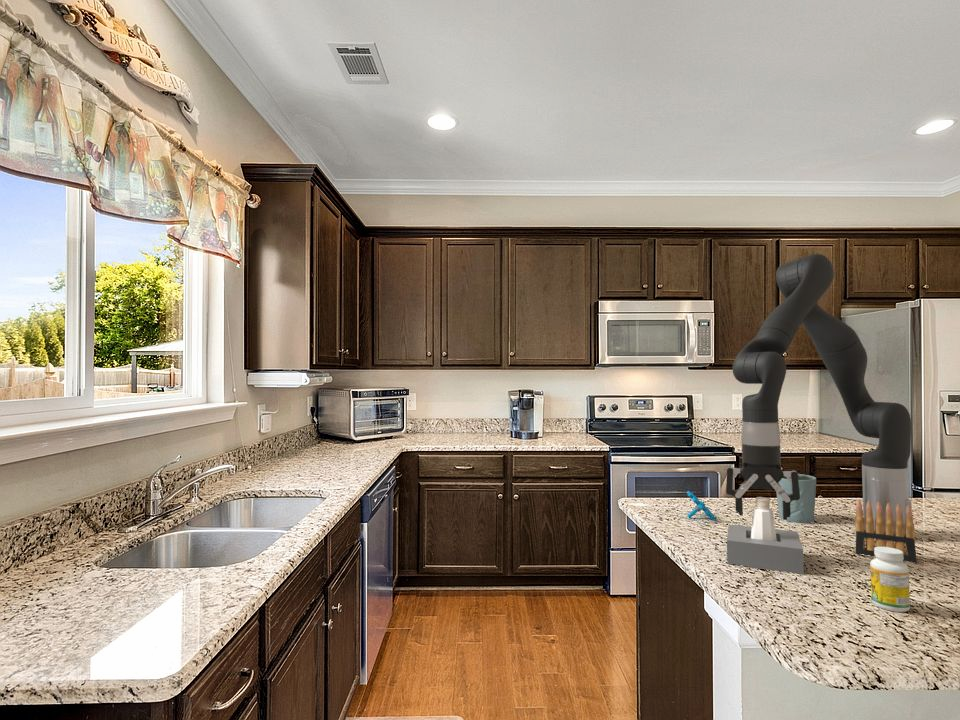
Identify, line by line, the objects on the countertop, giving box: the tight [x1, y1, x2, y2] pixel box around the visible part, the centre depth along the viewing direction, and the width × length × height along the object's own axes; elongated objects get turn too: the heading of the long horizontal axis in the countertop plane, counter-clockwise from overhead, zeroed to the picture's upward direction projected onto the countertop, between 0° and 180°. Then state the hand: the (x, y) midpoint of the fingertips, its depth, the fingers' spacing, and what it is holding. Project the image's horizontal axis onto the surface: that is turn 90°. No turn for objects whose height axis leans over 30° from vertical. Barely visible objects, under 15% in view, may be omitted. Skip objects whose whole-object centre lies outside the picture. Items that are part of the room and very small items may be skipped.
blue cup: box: [775, 473, 817, 524], centre depth 150 cm, size 10×10×12 cm
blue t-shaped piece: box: [686, 490, 717, 521], centre depth 152 cm, size 11×6×10 cm
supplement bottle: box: [869, 547, 911, 613], centre depth 93 cm, size 5×5×10 cm
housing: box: [726, 523, 805, 575], centre depth 117 cm, size 14×14×5 cm
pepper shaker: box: [751, 496, 777, 541], centre depth 118 cm, size 5×5×11 cm
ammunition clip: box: [854, 499, 918, 564], centre depth 119 cm, size 11×2×12 cm, turn 55°
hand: (762, 516), depth 118 cm, fingers open, 8 cm apart
